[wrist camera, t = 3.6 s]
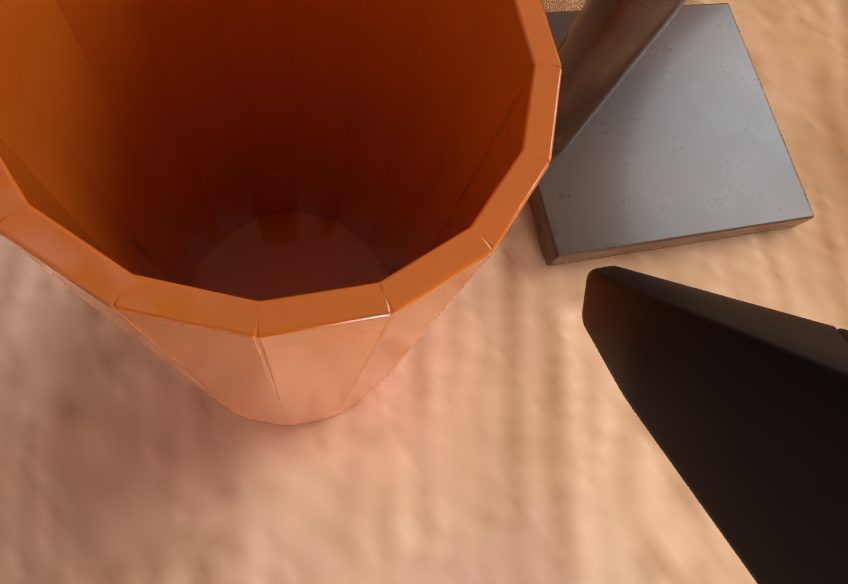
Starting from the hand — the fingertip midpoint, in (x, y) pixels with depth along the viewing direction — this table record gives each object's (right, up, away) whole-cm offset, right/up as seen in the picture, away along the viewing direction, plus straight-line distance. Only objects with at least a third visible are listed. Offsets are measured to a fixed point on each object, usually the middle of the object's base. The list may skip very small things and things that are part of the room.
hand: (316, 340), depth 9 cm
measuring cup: (-3, +2, +11) cm, 11 cm away
